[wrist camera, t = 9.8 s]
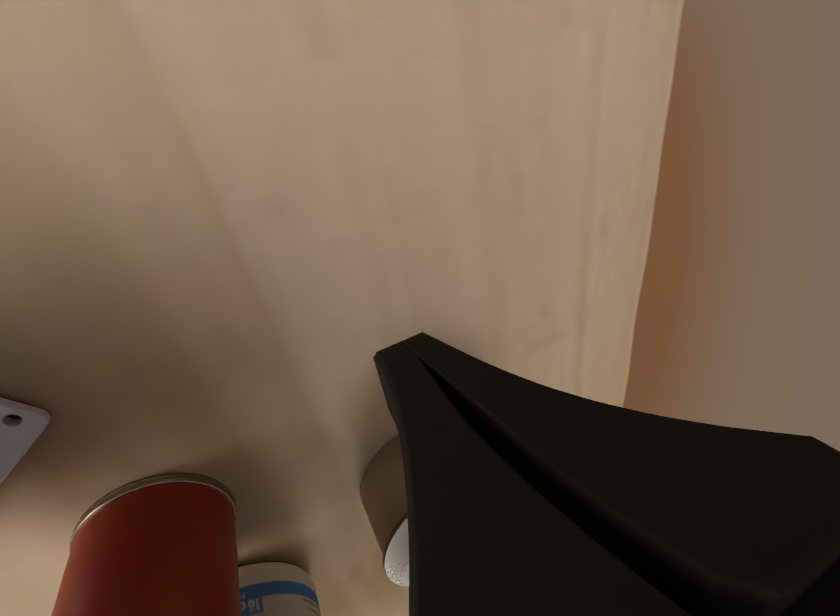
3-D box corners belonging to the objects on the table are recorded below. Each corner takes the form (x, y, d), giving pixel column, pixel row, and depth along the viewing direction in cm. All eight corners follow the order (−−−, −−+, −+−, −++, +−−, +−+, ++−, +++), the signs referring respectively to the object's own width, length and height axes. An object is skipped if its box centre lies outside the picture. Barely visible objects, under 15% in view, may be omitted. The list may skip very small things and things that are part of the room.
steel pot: (326, 503, 24) (353, 590, 20) (429, 393, 24) (477, 457, 20) (416, 530, 30) (451, 601, 26) (499, 441, 30) (549, 499, 25)
